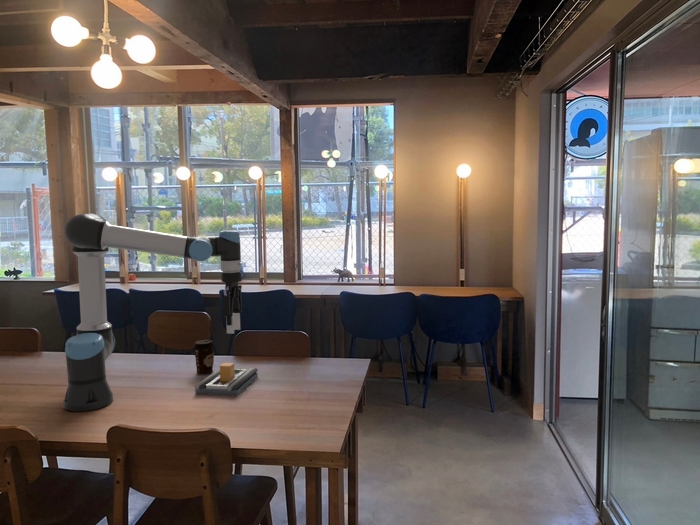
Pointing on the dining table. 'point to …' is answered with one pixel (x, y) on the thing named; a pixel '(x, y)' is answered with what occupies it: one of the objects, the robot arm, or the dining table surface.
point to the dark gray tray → (234, 384)
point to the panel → (226, 385)
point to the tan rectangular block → (227, 372)
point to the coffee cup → (204, 356)
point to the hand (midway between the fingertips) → (233, 331)
